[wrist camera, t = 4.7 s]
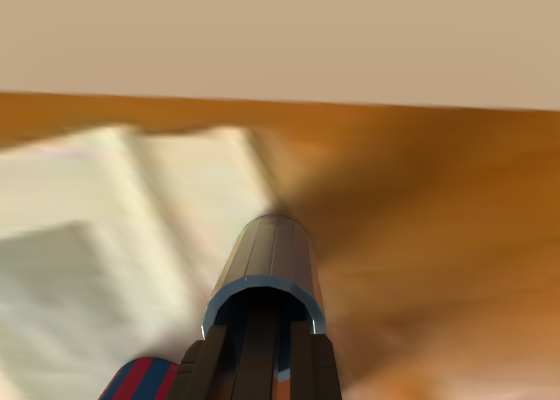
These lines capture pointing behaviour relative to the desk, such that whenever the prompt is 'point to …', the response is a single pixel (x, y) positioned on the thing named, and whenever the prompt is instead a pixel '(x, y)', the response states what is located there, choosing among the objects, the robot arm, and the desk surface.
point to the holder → (268, 282)
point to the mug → (141, 380)
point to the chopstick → (260, 348)
